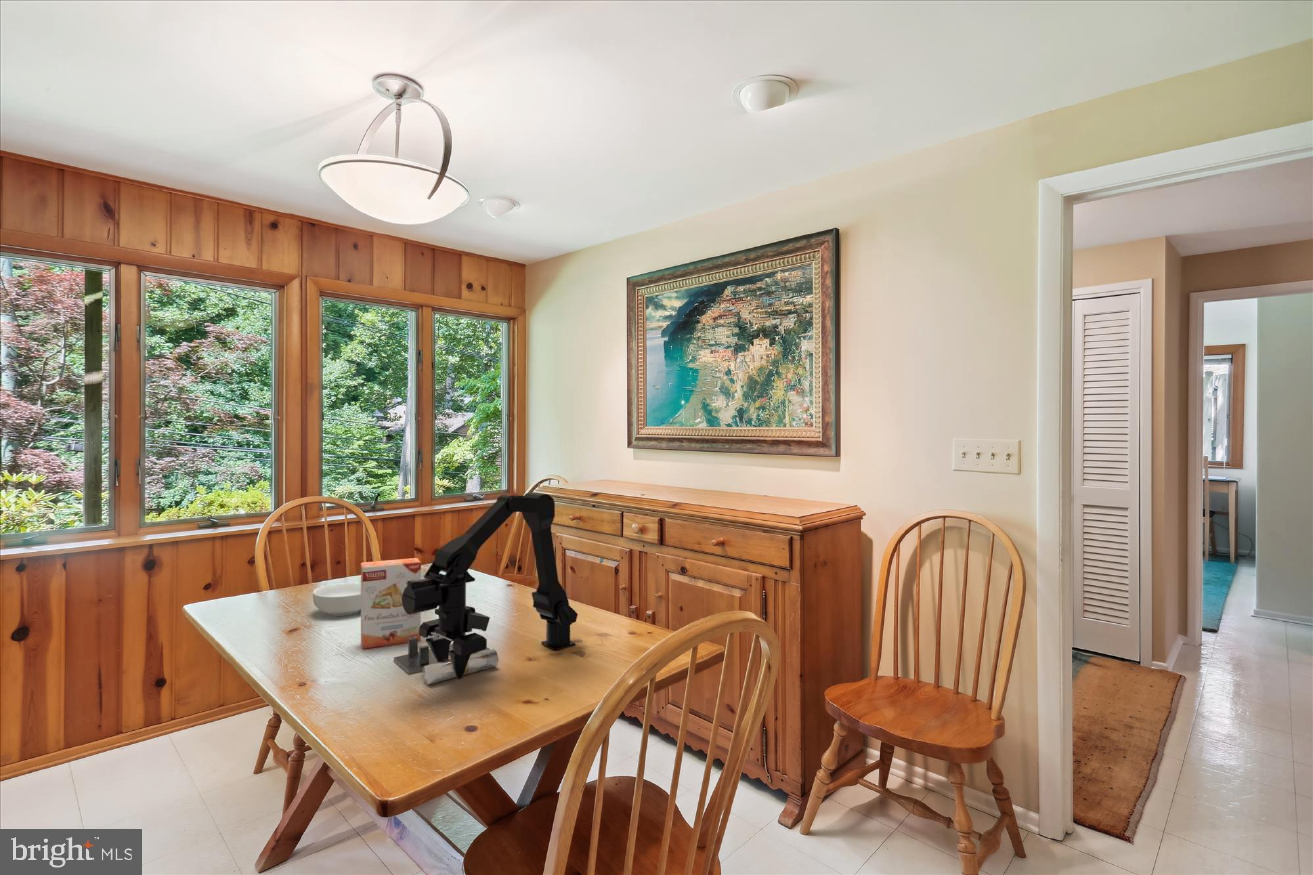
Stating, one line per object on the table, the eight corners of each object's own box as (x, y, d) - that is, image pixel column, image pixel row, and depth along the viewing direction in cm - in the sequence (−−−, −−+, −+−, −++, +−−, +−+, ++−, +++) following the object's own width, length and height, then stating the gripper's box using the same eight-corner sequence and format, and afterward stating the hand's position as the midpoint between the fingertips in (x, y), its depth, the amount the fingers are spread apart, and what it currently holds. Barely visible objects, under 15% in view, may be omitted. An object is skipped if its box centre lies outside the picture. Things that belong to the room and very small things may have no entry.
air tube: (493, 668, 150) (488, 651, 152) (500, 663, 147) (495, 646, 149) (425, 687, 140) (421, 668, 141) (431, 682, 137) (426, 663, 139)
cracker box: (362, 650, 159) (361, 566, 159) (360, 642, 165) (359, 561, 164) (421, 641, 166) (421, 560, 165) (418, 634, 171) (417, 556, 171)
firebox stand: (491, 653, 157) (491, 633, 157) (408, 674, 144) (408, 652, 144) (473, 642, 165) (473, 623, 165) (393, 661, 152) (393, 640, 152)
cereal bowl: (358, 621, 182) (358, 596, 182) (300, 620, 182) (300, 596, 182) (385, 604, 199) (385, 581, 199) (332, 603, 199) (332, 581, 199)
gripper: (508, 605, 141) (507, 675, 142) (462, 589, 154) (461, 653, 154) (462, 616, 133) (462, 691, 133) (418, 598, 145) (418, 666, 146)
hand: (452, 674), depth 142 cm, fingers open, 6 cm apart
